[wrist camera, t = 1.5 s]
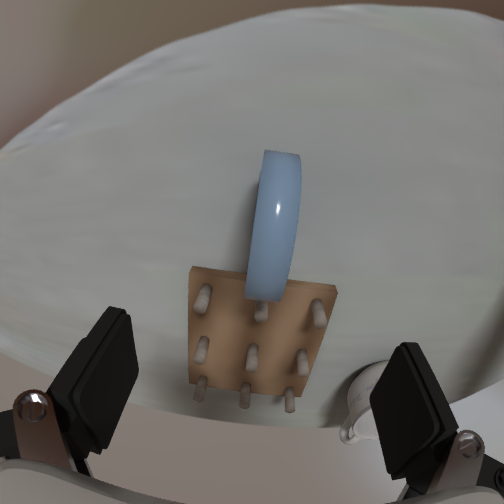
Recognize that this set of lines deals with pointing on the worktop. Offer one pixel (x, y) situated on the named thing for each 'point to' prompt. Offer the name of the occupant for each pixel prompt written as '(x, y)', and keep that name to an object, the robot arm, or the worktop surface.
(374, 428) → the teacup
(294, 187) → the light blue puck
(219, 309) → the dish rack
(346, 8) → the worktop surface
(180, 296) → the worktop surface
